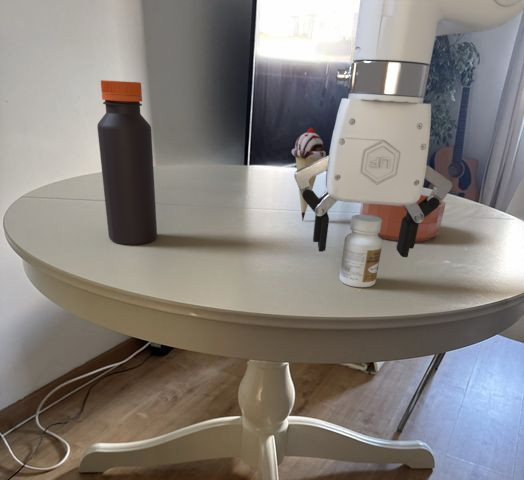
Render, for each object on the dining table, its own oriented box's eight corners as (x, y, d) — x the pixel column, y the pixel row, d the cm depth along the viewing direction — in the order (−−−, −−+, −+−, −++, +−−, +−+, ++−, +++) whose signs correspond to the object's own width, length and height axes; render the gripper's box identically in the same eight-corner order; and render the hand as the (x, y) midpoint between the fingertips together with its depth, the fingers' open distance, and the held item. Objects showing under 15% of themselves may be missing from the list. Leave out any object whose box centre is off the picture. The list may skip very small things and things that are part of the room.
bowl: (426, 225, 87) (433, 193, 84) (447, 245, 75) (456, 210, 72) (353, 220, 87) (358, 189, 84) (363, 240, 75) (368, 204, 73)
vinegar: (146, 230, 74) (137, 82, 64) (164, 242, 69) (157, 83, 59) (102, 235, 70) (85, 79, 61) (118, 247, 65) (102, 80, 56)
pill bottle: (372, 290, 56) (383, 224, 52) (335, 284, 57) (344, 219, 53) (377, 279, 60) (388, 216, 56) (343, 273, 61) (351, 211, 57)
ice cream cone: (314, 226, 82) (324, 130, 74) (282, 222, 83) (289, 127, 76) (321, 219, 86) (331, 128, 79) (291, 215, 88) (298, 125, 81)
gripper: (302, 79, 45) (288, 255, 53) (486, 90, 45) (443, 266, 53) (301, 80, 52) (288, 237, 60) (461, 90, 51) (426, 247, 60)
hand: (361, 251), depth 56 cm, fingers open, 9 cm apart
